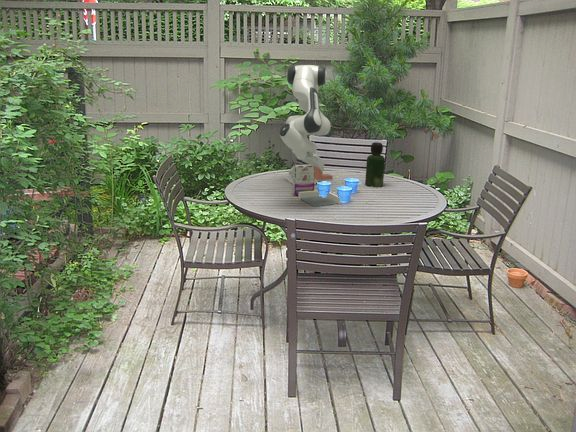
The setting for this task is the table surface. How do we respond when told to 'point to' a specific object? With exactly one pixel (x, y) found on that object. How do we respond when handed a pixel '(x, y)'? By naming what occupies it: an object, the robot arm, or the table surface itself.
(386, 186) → the table surface
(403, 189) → the table surface
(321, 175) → the angle bracket
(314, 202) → the slate mat
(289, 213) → the table surface
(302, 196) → the grey tray
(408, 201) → the table surface
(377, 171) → the dark green bottle
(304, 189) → the candy bar box
